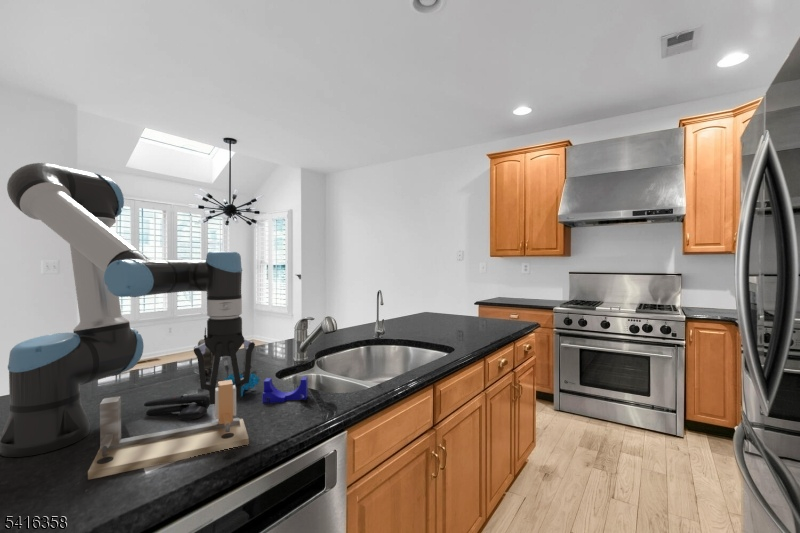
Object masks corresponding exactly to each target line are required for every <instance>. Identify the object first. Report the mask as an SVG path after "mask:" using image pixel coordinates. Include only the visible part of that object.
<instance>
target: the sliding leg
mask: <svg viewBox="0 0 800 533" xmlns="http://www.w3.org/2000/svg"><path fill="white" fill-rule="evenodd" d="M217 381H218V380H217ZM217 388H218V390H219V419H217V420H218V421H219V424H224V425H225V432H230V425H231V422H233V419H234V416H233V383H232V380H226V381H225V380H221V381H218V382H217Z"/></svg>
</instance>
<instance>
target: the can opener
mask: <svg viewBox="0 0 800 533" xmlns="http://www.w3.org/2000/svg"><path fill="white" fill-rule="evenodd" d="M210 405H211V404H210V402H209V395H207V394H204V393H203V394H202V393H200V394H199V393H198V394H187V393H184V394H183V395H174V396H167V397H161V398H155V399H151V400H146V401H145V402H144V405H143V406H145V407H151V408H149V409H147V411H146V412H145V414H146V415H148V416H149V415H150V416H157V415H158V416H159V415H167V414H173V413H178V415H177V418H178V419H180V420H182V421H183V420H185V421H186V420H187V421H189V420H190V421H192V420H195V419H199V418H201V417H202V416H204V415H205V414H206V413H207V412H208V409H209V406H210ZM156 406H157V407H156ZM158 406H159V407H158Z"/></svg>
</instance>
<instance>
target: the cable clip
mask: <svg viewBox="0 0 800 533" xmlns="http://www.w3.org/2000/svg"><path fill="white" fill-rule="evenodd" d="M307 398H308V376H302V377H301V378H300V384H299V386H297V388H296V389H294V390H292V391H288V392H284V391H282V390H279V389H277V387H276V386H275V385H274V383H273V381H272V377H266V378H265V379H264V380H263V392H262V404H271V403H272V404H274V403H275V404H276V403H285V402H286V401H299V400H300V401H301V400H304V401H305V400H307Z"/></svg>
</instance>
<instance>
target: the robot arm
mask: <svg viewBox="0 0 800 533" xmlns="http://www.w3.org/2000/svg"><path fill="white" fill-rule="evenodd" d="M6 190H7V195H8V198H9V199H10V201H11V202H12V203H13V205H14V206H15V207H16V208H17V209H18V210H19V211H20V212H22V213H23V214H24V215H25V216H26V217H28V218H31V219H33V220H37V221H41V222H42V223H43V224H44V225H46V227H48V228H49V229H51V231H53V232H54V233H55V234H57V235H58V236H59V237H61V238H62V239H63V240H64V241H65V242H67V243H68V244H69V247H70V255H71V262H72V270H73V277H74V287H75V291H76V292H75V293H76V299H77V300H76V301H77V307H78V309H77V310H78V315H79V317H78V318H79V323H78V324H77V325H76V326H75V327H74V328H73V330H72V332H58V333H53V334H45V335H40V336H37V337H33V338H29V339H27V340H24V341H21V342H19V343H16V345H14V347H12V348H11V349H10V350H9V358H8V365H7V370H8V381H9V382H8V387H9V390H8V392H9V414H8V417H7V420H6V423H5V425H4V428H3V431H2V433H1V436H0V456H2V457H6V458H20V457H21V458H22V457H30V456H35V455H41V454H45V453H49V452H54V451H56V450H59V449H62V448H65V447H69V446H70V445H73V444H75V443H77V442H79V441H81V440H83V439H84V438H86V437H87V436H88V435H89V434H90V433H91V422H90V419H89V416H88V415H87V412H86V411H85V409H84V407H83V404H82V401H81V386H82V385H85V384H89V383H92V382H95V381H99V380H103V379H106V378H108V377H114V376H119V375H120V374H122V373H125V372H127V371H130V370H132V369H133V368H135V367H136V365H137V364H138V363H139V361H140V360H141V358H142V356H143V353H144V345H145V344H144V340H143V337H142V335H141V334H140V333H139V331H138V330H137V329H135V328H133V327H131V325H130V320H128V319H127V318H125V317H123V315H122V310H121V303H120V302H121V301H120V297H121V298H122V297H123V298H125V297H127V298H128V297H131V298H136V297H137V298H139V297H145V296H152V295H160V294H161V295H162V294H172V293H182V292H183V293H184V292H185V293H186V292H206V316H207V317H209V318H208V319H207V320H206V335H207V338H206V340H205V343H203V344H201V345H199V346H198V345H195V346H194V347H193V353H194V355H195V356H196V359H197V365H198V366H197V367H198V374H199V376H198V377H199V384H200V389H201V390H202V391H204V390H206V391H208V393H209V394H208V396H209V402H210V405H214V419H215V420H218V419H219V390H218V387H217V381H218V375H219V374H218V373H219V369H220V368H219V367H220V362H221V358H223V357H230V363H231V367H232V375H234V380H235V385H233V417H236V416H237V401H240V400H242V397H241V386H242V385H243V384H246V383H249V379H250V376H251V365H252V354H253V350H254V349H255V346H256V343H255V342H254V341H253V340H247V339H245V337H244V335H243V318H242V316H241V315H242V314H243V308H242V307H243V304H242V303H243V300H242V282H243V281H242V280H243V279H242V278H243V277H242V276H243V275H242V274H243V268H242V257H241V256H242V255H241V254H240V253H239V252H236V251H209V252H207V253H206V258H205V259H203V260H201V259H200V260H199V259H197V260H196V259H151V258H149V257H147V255H145V254H143V253H142V252H141V251H140V250H138V249H137V248H136V247H134V246H133V245H132V244H130V243H129V242H128V241H126V240H125V239H124V238H123V237H121V235H119V234H118V233H117V232H115V231H114V230H113V229H111V227H112V226H113V225H115V224H116V221H117V220H116V218H117V217H119V215H121V213H122V211H123V210H122V209H123V208H124V205H125V200H124V199H125V198H124V194H123V191H122V189H121V187H120V186H119V185H118V183H117V182H116V181H114V180H113V179H111V178H110V177H107V176H104V175H101V174H99V173H96V172H91V171H85V170H81V169H75V168H70V167H66V166H61V165H58V164H53V163H45V162H36V163H30V164H26V165H23V166H21V167H19V168H18V169H15V171H13V173H12V174H11V175H10V177H9V178H8V180H7V186H6ZM242 345H243V349H244V361H243V372H242V375H243V378H241V379H240V374H241V373H240V374H239V372H240V370H239V369H240V368H239V365H238V358H237V353H238V351H239V349H240V348H241V347H242ZM206 347H207V348H208V349H209V350H210V351H211V352H212V353H213V355H214V359H213V365H212V368H211V374H210V378H209V382H207V378H206V369H205V366H204V357H203V354H204V353H205V348H206Z"/></svg>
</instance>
